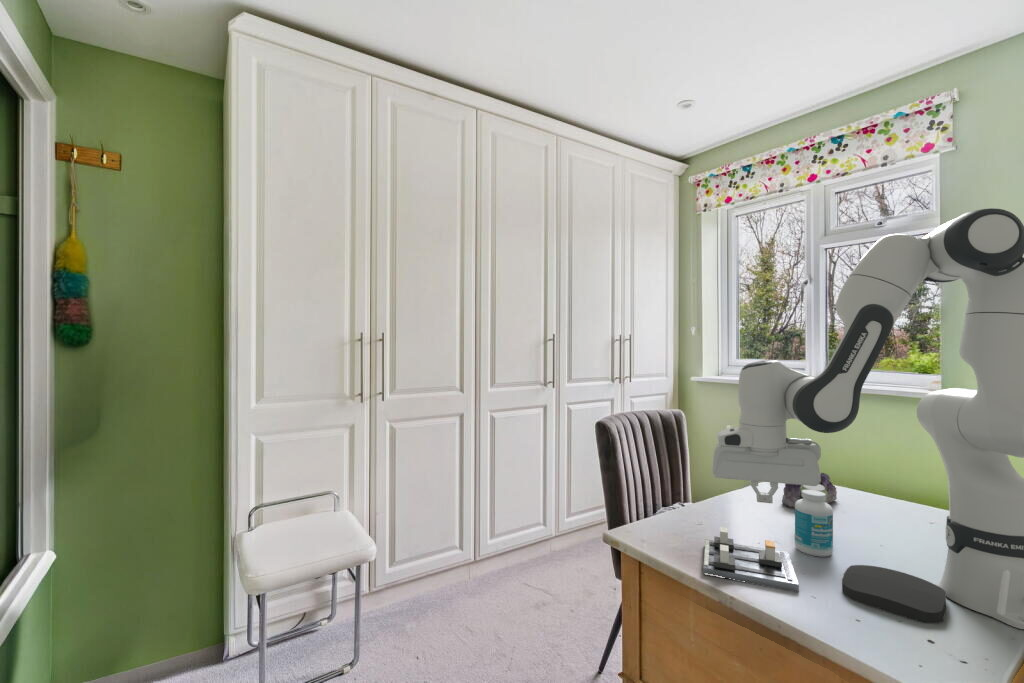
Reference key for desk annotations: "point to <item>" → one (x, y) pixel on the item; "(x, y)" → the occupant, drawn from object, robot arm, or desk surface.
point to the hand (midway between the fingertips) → (764, 502)
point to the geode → (793, 490)
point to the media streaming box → (895, 593)
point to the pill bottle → (814, 524)
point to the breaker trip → (770, 555)
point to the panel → (752, 567)
